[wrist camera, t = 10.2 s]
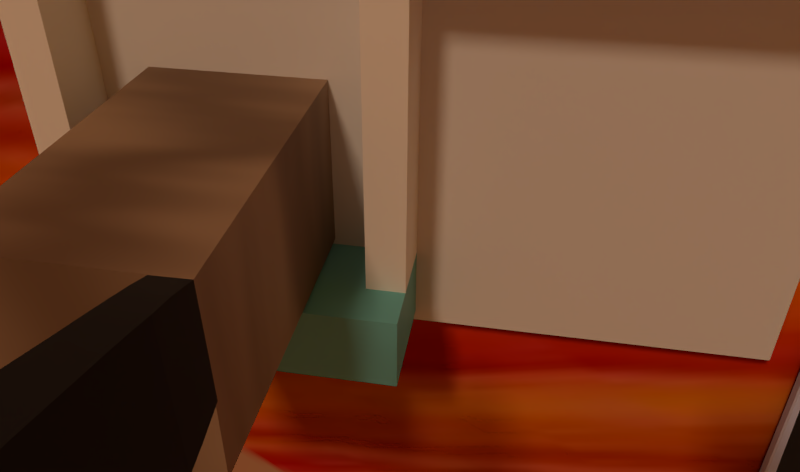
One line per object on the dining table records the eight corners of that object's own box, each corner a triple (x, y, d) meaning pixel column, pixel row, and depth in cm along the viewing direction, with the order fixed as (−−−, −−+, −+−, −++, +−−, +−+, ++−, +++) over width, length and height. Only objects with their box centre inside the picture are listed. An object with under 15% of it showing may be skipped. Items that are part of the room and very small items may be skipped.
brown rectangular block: (327, 80, 18) (193, 279, 11) (335, 238, 20) (229, 477, 14) (148, 66, 18) (-78, 248, 12) (176, 221, 21) (3, 444, 14)
